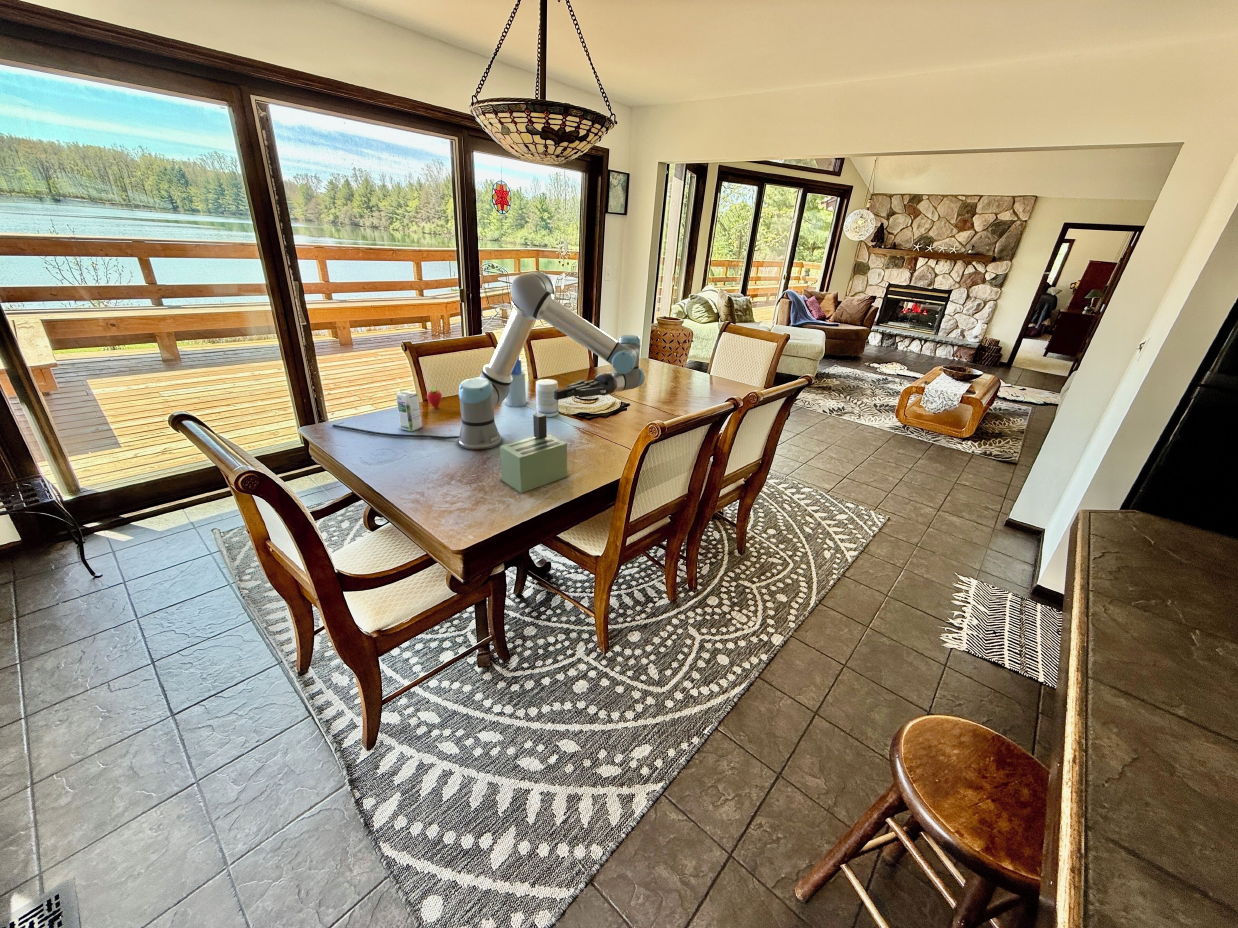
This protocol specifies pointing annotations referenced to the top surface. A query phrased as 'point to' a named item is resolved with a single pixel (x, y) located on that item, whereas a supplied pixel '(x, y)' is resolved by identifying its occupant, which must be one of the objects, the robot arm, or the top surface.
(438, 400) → the strawberry
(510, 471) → the toaster
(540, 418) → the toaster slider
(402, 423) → the syrup box
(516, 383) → the spray bottle
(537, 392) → the supplement tub
